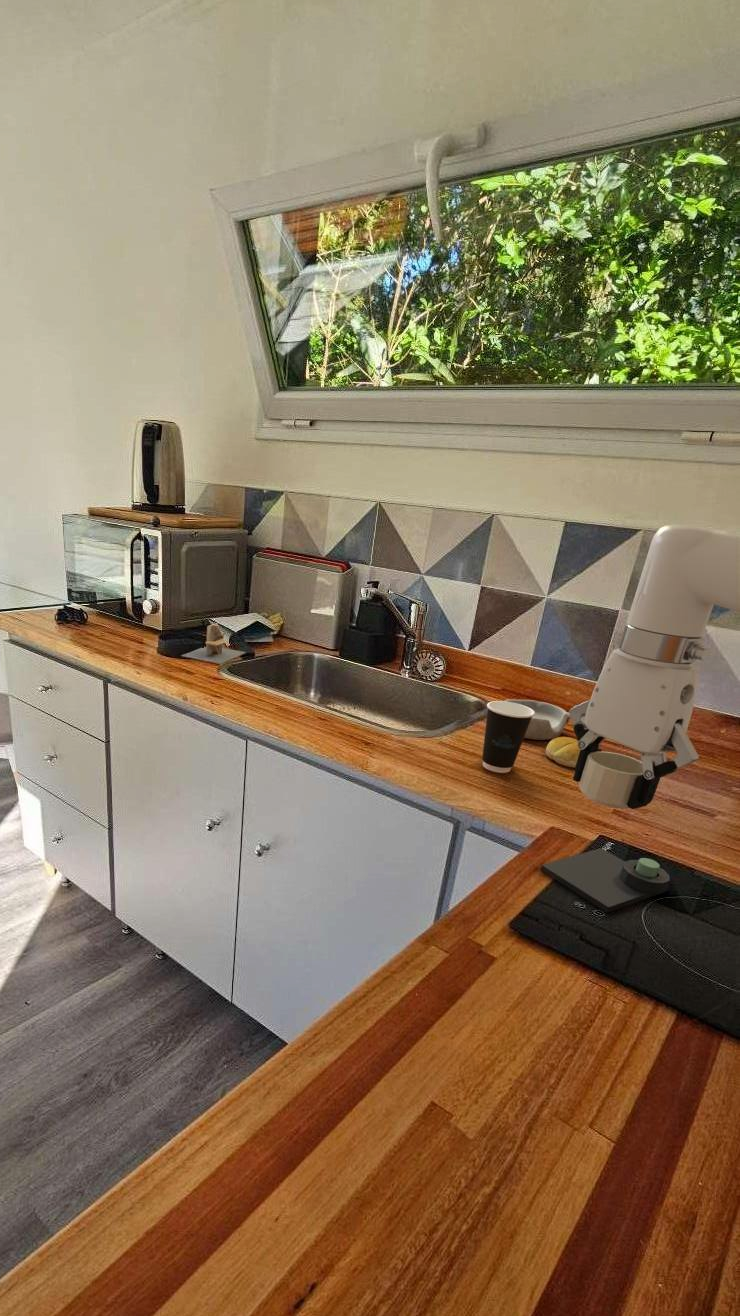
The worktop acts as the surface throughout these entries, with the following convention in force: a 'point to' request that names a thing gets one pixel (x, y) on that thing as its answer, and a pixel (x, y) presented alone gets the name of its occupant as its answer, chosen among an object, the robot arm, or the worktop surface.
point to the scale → (606, 879)
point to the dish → (544, 720)
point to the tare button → (647, 867)
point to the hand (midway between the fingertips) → (609, 791)
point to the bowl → (609, 778)
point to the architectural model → (214, 648)
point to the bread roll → (563, 751)
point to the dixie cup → (504, 734)
